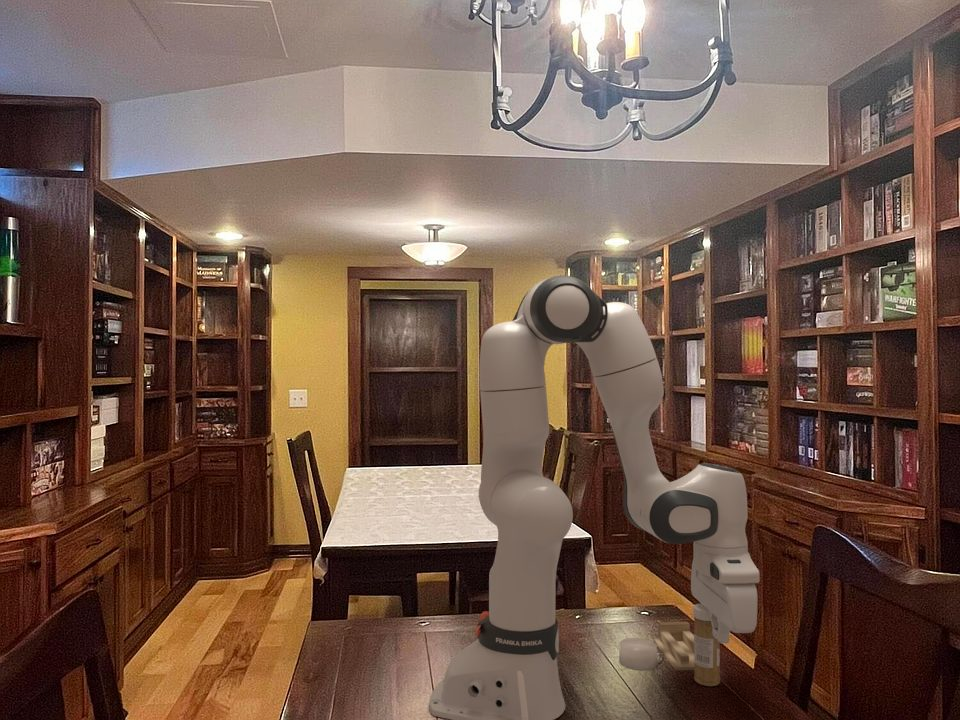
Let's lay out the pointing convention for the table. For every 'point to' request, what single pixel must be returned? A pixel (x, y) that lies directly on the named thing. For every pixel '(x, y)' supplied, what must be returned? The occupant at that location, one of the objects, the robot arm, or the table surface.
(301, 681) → the table surface
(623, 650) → the cream dish
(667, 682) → the table surface
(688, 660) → the u rest
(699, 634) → the sprinkles bottle
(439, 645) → the table surface
